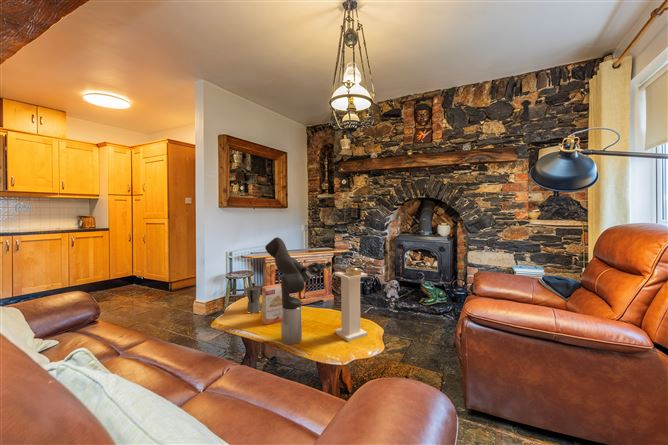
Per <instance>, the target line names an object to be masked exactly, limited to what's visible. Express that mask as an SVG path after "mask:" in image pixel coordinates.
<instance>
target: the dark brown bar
mask: <svg viewBox="0 0 668 445" xmlns="http://www.w3.org/2000/svg"><path fill="white" fill-rule="evenodd" d="M332 268H333V269H335V270H336V271H337V270H338V271H339V272H341V271H343V272H346V274H348V275H351V276H358V275H361V272H362V269H359V268H357V267H350V268H348V267H344V266H341V265H338V264H333V265H332Z"/></svg>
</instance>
